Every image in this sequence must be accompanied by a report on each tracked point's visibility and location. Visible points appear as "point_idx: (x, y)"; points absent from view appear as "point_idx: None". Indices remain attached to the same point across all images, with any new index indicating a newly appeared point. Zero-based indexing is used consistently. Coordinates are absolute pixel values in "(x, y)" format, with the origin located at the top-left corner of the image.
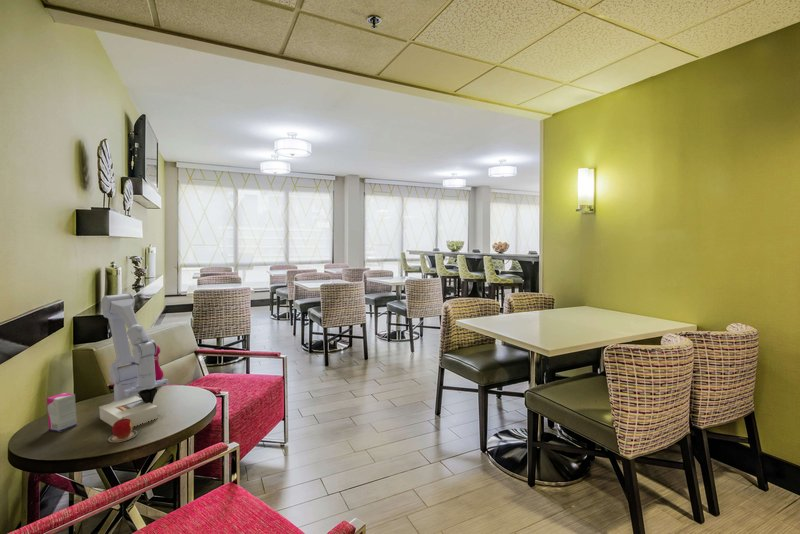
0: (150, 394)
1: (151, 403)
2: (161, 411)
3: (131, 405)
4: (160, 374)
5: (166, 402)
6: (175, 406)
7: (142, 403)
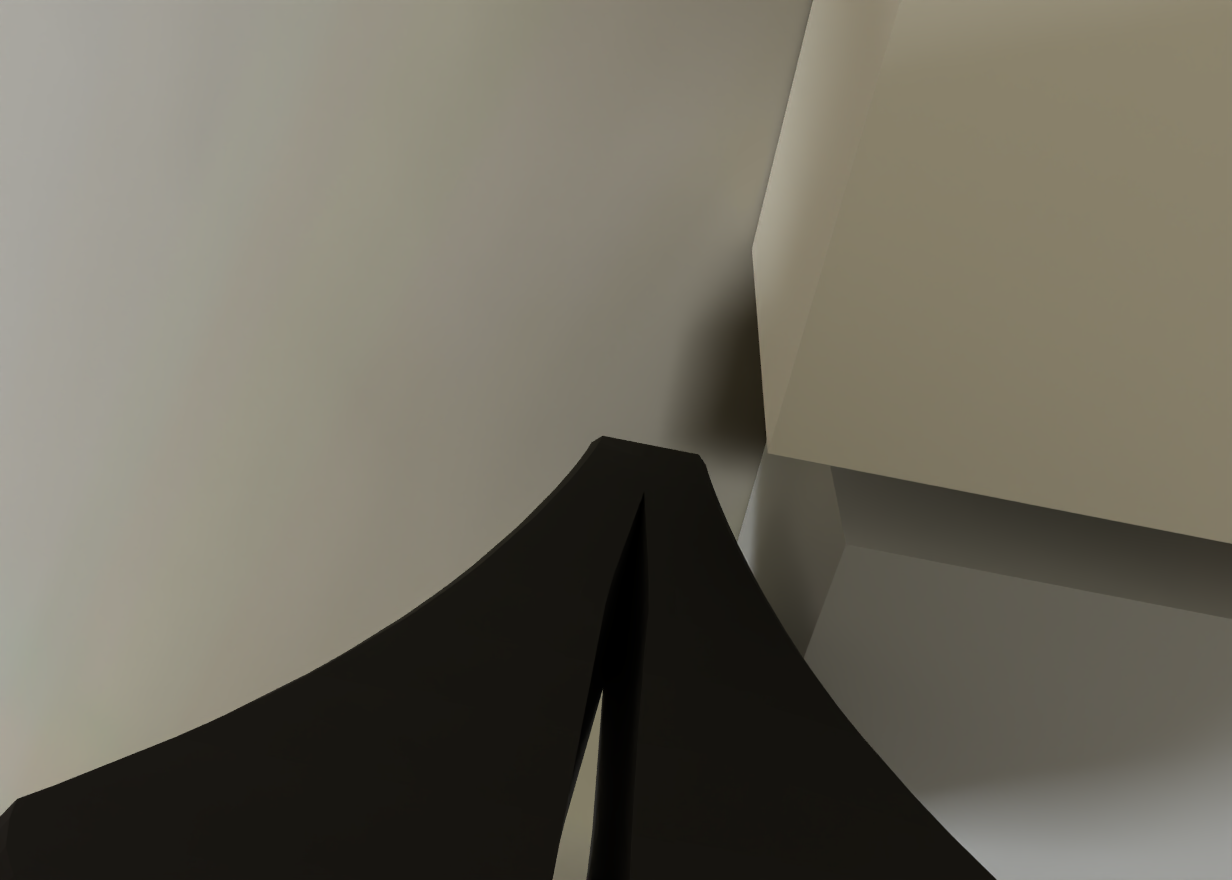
0: (549, 877)
1: (845, 221)
2: (452, 125)
3: (1204, 863)
4: None
5: (108, 546)
6: (3, 55)
7: (923, 672)
